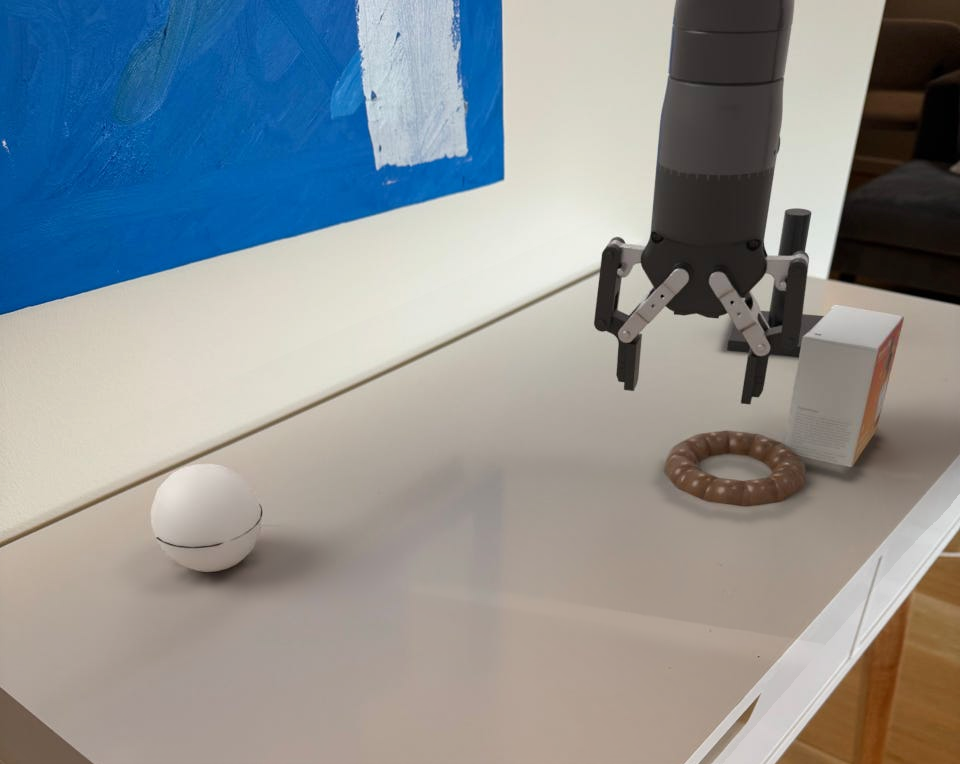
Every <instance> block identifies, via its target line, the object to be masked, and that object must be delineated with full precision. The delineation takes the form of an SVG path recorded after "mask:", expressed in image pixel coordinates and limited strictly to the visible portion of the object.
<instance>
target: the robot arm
mask: <svg viewBox="0 0 960 764" xmlns="http://www.w3.org/2000/svg"><path fill="white" fill-rule="evenodd" d="M795 1H796V0H675V2H674V9H673V16H672V17H673V18H672V27H671V34H670V35H671V36H670V37H671V38H670V49H669V60H668V72H667V74H668V75H667V81H666V88H665V93H664V98H663V102H662V108H661V112H660V120H659V130H658V141H657V152H656V153H657V154H656V164H655V165H656V166H655V176H654V189H653V201H652V210H651V211H652V212H651V223H650V234H649V239H648V241H647V244H646V245H638V244H633V243H632V244H631V243H626V241H625V240H624V238H623V237H620V236H614V237H613V238H611V239H610V241H608V243H607V245H606V246H605V247H604V249H603V250H602V253H601V260H600V268H599V277H598V285H597V293H596V294H597V295H596V303H595V311H594V319H593V320H594V321H593V326H594V328H595V329H596V330H597V331H598V332H601V333H603V332H607V333H609V334H611V335H613V336H614V337H615V338H616V340H617V343H618V347H617V359H616V360H617V361H616V373H615V374H616V375H615V376H616V378H617V381H618V383H623V390H624V391H629V392H634V391H635V389H636V387H637V385H638V382H639V373H640V364H641V353H642V352H641V351H642V341H643V333H641V332H642V331H643V330H644V329H645V328H646V326H648V325H649V324H650V323H651V322H652V321H653V320H654V319H655V318H656V317H657V316H658V315H659V313H660V312H662V310H663V309H664V308H665V307H666V308H667V309H668V310H669V311H671V312H673V315H674V316H675V315H676V316H689V315H696V314H697V315H699V316H702V317H705V318H708V319H709V318H710V319H720V317H721V316H725V315H727V314H728V316H729V318H730V320H731V321H732V323H733V324H735V326H736V328H737V329H738V331H740V332H741V333H742V334H743V335H744V337H745V339H746V340H747V342H748V344H749V345H750V350H749V353H748V354H747V359H746V365H745V372H744V378H743V386H742V391H741V398H740V405H741V404H742V405H751V404H752V399H753V398H760V396H761V395H762V393H763V391H764V387H765V384H766V383H765V382H766V376H767V369H768V364H769V359H770V356H772V355H771V354H772V353H773V352H775V351H777V350H782V349H785V350H793V349H795V348H796V347H797V345H798V343H799V336H800V331H801V324H802V315H803V314H804V306H805V299H806V289H807V279H808V272H809V263H810V257H809V256H810V255H808V253H807V252H806V251H805V252H804V251H797V252H795V253H794V254H793V255H792V256H778V255H768V253H767V250H766V247H765V236H766V229H767V224H768V223H767V222H768V215H769V211H770V210H769V208H770V202H771V196H772V189H773V182H774V176H775V169H776V164H777V157H778V154H779V151H780V146H781V131H782V121H783V113H784V112H783V111H784V109H783V107H784V100H783V99H784V85H785V73H786V69H787V68H786V67H787V62H788V61H787V60H788V53H789V46H790V41H791V35H792V28H793V22H794V14H795V13H794V11H795ZM638 264H640V265H641V268H642V270H643V272H644V274H645V275H646V277H647V279H648V281H649V282H650V284H651V285H652V287H651V289H650V290H649V291H648V292H647V293H646V294H645V295H644V297H643V298H642V300H641V301H640V302H639V303H638V304H637V305H636V306H635V307H634V309H633V310H632V311H631V312H630V313H629V314H627V313H625V312H623V311H621V310H619V303H620V301H619V300H620V294H621V285H622V279H623V278H626V277H628V276H629V275H630V273H631V272H632V270H633V267H634V266H636V265H638ZM766 274H767V275H770V276H772V278H773V281H774V280H775V286H776V288H777V289H778V290H780V291H786V294H785V304H784V313H783V323H782V326H777V327H773V328H770V327H769V325H768V323H767V322H766V320H765V318H764V316H763V315H762V313H761V311H762V310H761V308H760V305H759V303H758V301H757V300H756V297H755V296H754V294H753V292H752V290H753V289H754V288H755V286H756V285H758V283H760V281H761V280H762V279H763V278H764V276H765V275H766Z"/></svg>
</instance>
